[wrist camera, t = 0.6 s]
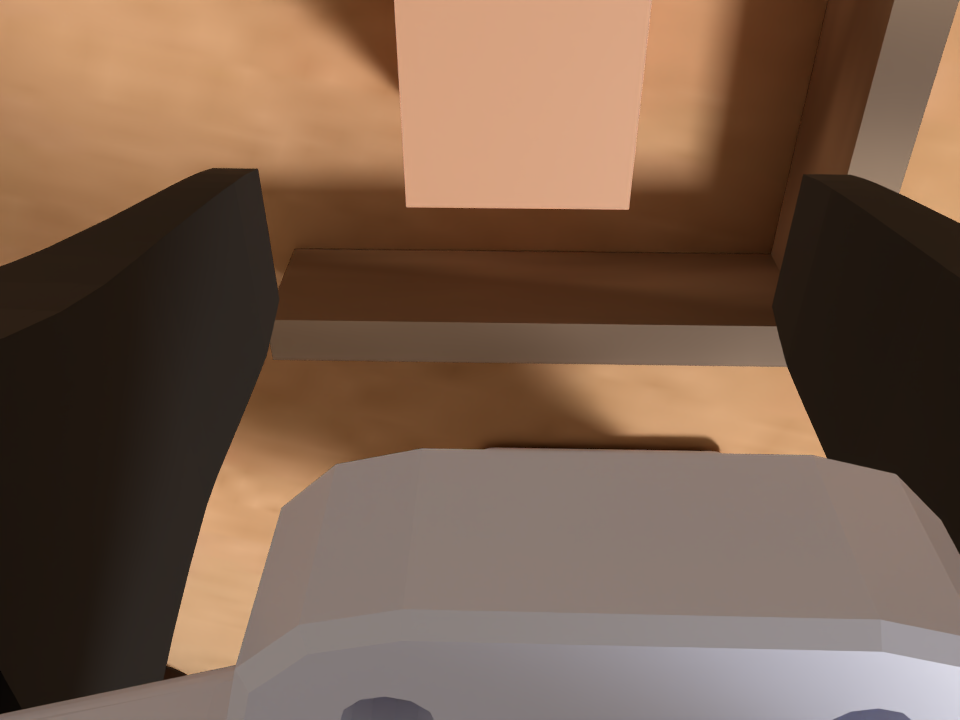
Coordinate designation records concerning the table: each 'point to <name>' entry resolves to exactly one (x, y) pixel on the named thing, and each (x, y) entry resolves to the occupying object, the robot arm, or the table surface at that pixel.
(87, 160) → the table surface
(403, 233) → the table surface
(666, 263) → the open box
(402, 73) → the terracotta block
